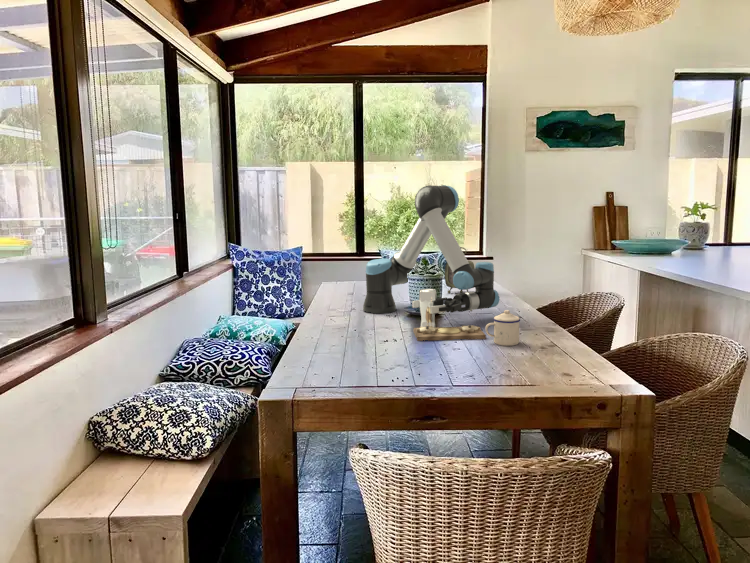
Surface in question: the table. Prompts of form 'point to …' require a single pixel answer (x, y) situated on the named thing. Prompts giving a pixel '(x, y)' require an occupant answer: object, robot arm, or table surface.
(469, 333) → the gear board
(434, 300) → the beer glass
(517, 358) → the table surface
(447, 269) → the tabletop clock
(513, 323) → the teacup with lid
